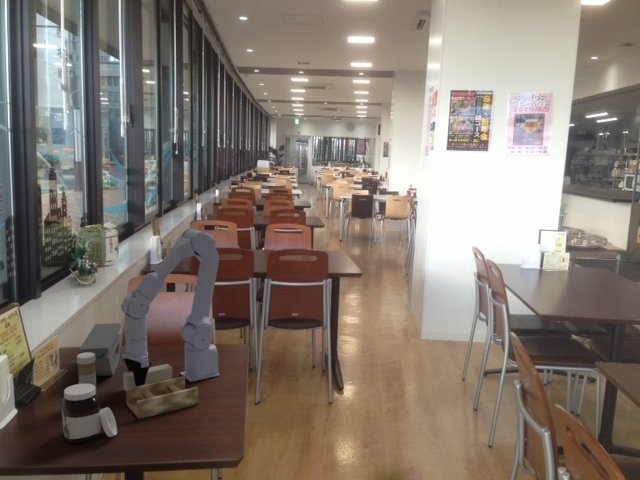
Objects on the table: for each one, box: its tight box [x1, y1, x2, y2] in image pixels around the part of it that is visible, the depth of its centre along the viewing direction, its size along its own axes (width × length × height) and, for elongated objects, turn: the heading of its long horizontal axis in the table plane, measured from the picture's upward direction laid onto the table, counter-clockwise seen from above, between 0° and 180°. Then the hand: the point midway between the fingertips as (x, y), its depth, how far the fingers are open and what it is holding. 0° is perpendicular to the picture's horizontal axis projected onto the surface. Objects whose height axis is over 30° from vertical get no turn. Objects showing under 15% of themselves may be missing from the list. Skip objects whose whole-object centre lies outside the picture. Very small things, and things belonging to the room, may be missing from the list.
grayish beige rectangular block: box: [122, 363, 173, 392], centre depth 168 cm, size 13×4×5 cm, turn 125°
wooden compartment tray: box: [125, 376, 199, 420], centre depth 156 cm, size 16×10×4 cm, turn 125°
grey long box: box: [78, 322, 122, 377], centre depth 180 cm, size 25×8×11 cm, turn 11°
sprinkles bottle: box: [76, 352, 97, 396], centre depth 156 cm, size 5×5×13 cm
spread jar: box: [61, 383, 118, 444], centre depth 138 cm, size 12×11×12 cm
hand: (137, 384), depth 166 cm, fingers closed on grayish beige rectangular block, 3 cm apart
